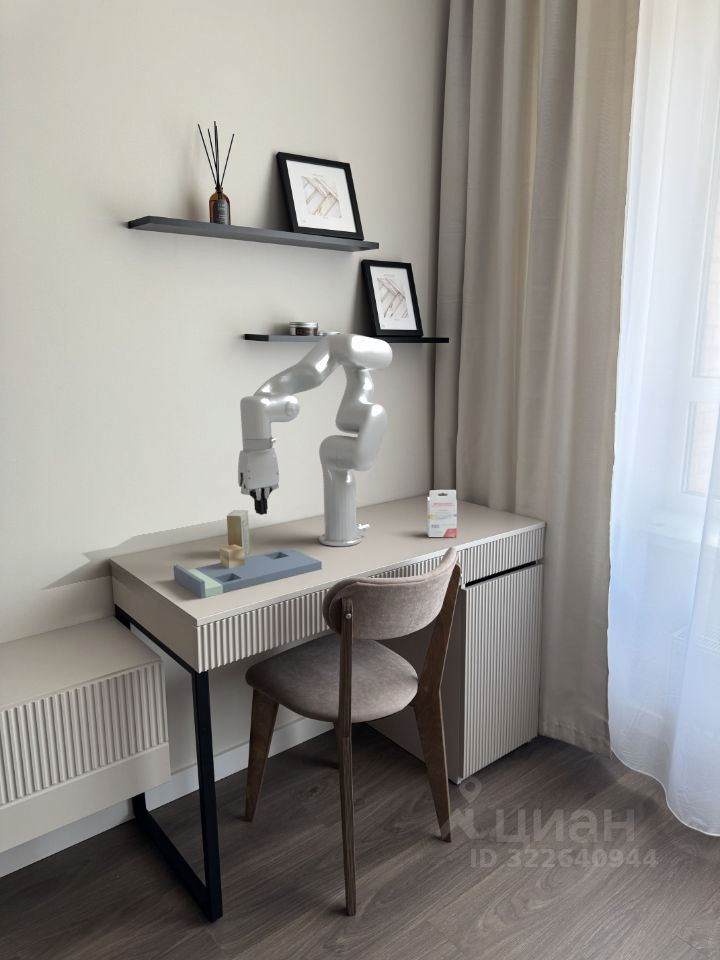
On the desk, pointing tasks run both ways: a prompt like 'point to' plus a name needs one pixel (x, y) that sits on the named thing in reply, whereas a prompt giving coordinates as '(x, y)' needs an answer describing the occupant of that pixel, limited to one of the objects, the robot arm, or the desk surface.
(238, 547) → the block
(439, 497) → the ink cartridge box
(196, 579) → the board
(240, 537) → the skincare box
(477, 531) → the desk surface
